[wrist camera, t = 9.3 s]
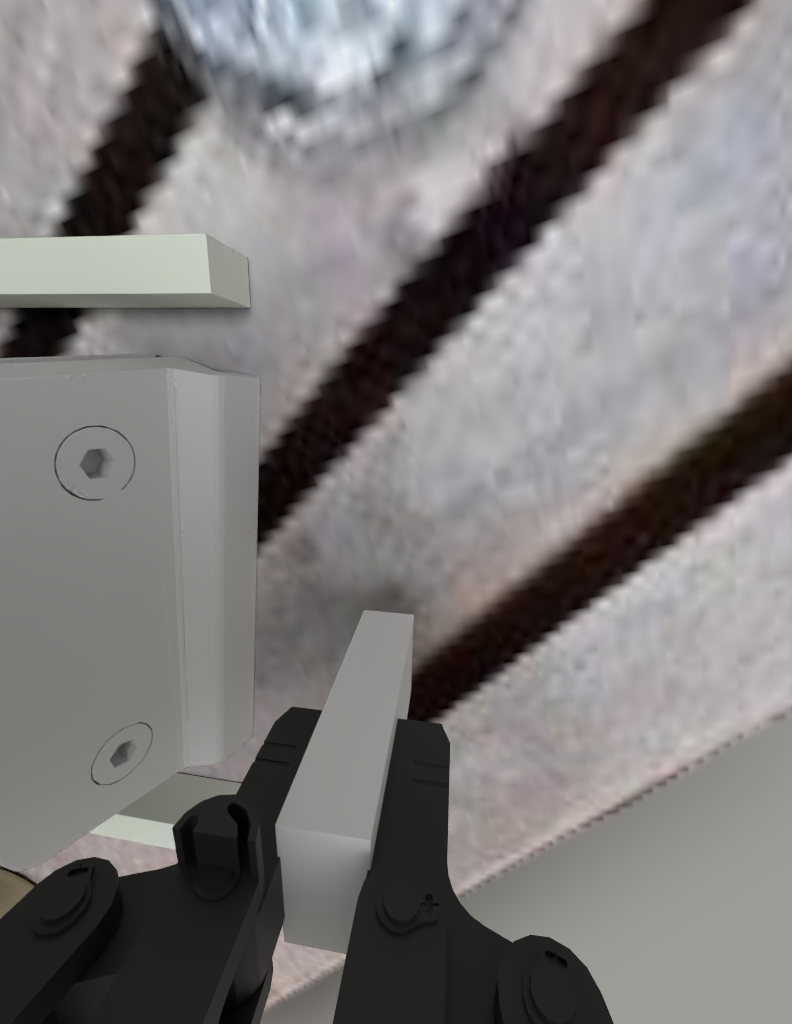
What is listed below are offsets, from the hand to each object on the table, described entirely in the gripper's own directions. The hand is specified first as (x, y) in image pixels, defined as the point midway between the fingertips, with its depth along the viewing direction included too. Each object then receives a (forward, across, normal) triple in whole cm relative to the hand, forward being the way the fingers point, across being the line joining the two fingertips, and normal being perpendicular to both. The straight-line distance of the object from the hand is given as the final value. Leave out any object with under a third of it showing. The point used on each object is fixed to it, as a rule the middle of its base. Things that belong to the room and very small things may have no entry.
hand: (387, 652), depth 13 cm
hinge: (+4, -10, 0) cm, 11 cm away
